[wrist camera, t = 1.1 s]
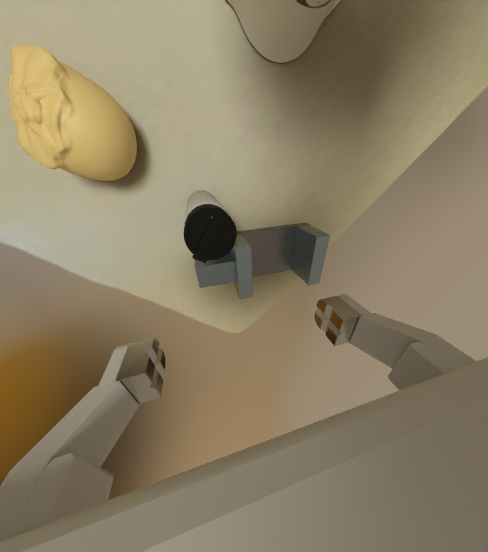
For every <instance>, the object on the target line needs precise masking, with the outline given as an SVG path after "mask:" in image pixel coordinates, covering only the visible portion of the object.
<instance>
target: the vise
mask: <svg viewBox="0 0 488 552" xmlns="http://www.w3.org/2000/svg"><path fill="white" fill-rule="evenodd" d="M240 234H241V235H242V236H243V237H244V238H245V240H246V241H247V242H248V243H249V245H250V246H251V261H252V277H253V276H259V275H264V274H270V273H275V272H281V271H286V270H293V271H294V272H295V273H296V274H297V275H298V276H299V277H300V278H301V279H303V280H304V281H305V282H306V283H307V284H308V285H310V284H316V283H319V281H320V276H321V272H322V268H323V263H324V258H325V254H326V249H327V245H328V240H329V236H330V235H329V234H326V233H324V232H322V231H320V230H318V229H316V228H313V227H311V226H310V225H309V224H307V223H300V224H293V225H285V226H277V227H270V228H262V229H254V230H247V231H239V232H237V235H240Z"/></svg>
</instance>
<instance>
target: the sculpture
mask: <svg viewBox="0 0 488 552" xmlns="http://www.w3.org/2000/svg"><path fill="white" fill-rule="evenodd" d="M11 57H12V73H11V74H10V76H9V89H10V92H9V94H8V97H9V100H10V102H11V114H12V117H13V119H14V121H15V123H16V126H17V137H18V143H19V145H20V147H21V148H22V149H23V151H24V152H25V153H26V154H28V155H30V156H32V157H33V158H34V159H35V160H36V161H37V162H38V163H40V164H41V165H43V166H45V167H47V168H50V169H57V168H61V169H63V170H65V171H68V172H71V173H73V174H77V175H80V176H83V177H86V178H90V179H94V180H101V181H112V180H117V179H120V178H122V177H124V176H125V175H126V174H127V173H128V172H129V171H130V170H131V168H132V167H133V165H134V162H135V159H136V154H137V142H136V136H135V132H134V129H133V126H132V124H131V122H130V120H129V118H128V116H127V114H126V113H125V111H124V110H123V109H122V107H121V106H120V105H119V104H118V102H117V101H116V100H115V99H114V98H113V97H112V96H111V95H110V94H109V93H108V92H106V91H105V90H104V89H103V88H101V87H100V86H99V85H97V84H96V83H95V82H93V81H91V80H90V79H88V78H87V77H85V76H84V75H82V74H81V73H79V72H78V71H76V70H74V69H73V68H71V67H69V66H67V65H65V64H63V63H61V62H58V61H57V60H56V58H55V57H54V56H53V55H52V54H51V53H50V52H48V51H47V50H45V49H43V48H41V47H38V46H34V45H28V46H26V45H24V44H22V43H16V44H15V45H14V46H13V47H12V51H11Z"/></svg>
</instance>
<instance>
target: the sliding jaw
mask: <svg viewBox="0 0 488 552" xmlns="http://www.w3.org/2000/svg"><path fill="white" fill-rule="evenodd" d="M195 268H196V273H197V277H198V281H199V286H200V288H203V287H209V286H214V285H219V284H225V283H230V282H234V285H235V288H236V290H237V293H238V296H239V298H240V299H243V298H247V297H252V296H253V293H252V261H251V246H250V245H249V243H248V242H247V241H246V240H245V238H244V237H243V236H242V235H241V234H240V235H237V238H236V242H235V245H234V247H233V248H232V250H231V251H230V252H229V253H228V254H227V255H226V256H224V257H222V258H220V259H217V260H207V262H206V263H203V262H200V261H198V260H196V259H195Z"/></svg>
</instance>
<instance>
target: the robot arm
mask: <svg viewBox="0 0 488 552" xmlns="http://www.w3.org/2000/svg"><path fill="white" fill-rule="evenodd" d="M227 1H228V2H229V3H230V4H231V6H232V7H233V8H234V10H235V11H236V13H237V15H238V18H239V20H240V23H241V25H242V27H243V30H244V32H245V34H246V36H247V37H248V39H249V41H250V42H251V44H252V45H253V46H254V48H255V49H256V50H257V51H258V52H259V53H260V54H261V55H262V56H264V57H265V58H267V59H269V60H271V61H274V62H279V63H283V62H289V61H291V60H294V59H295V58H297V57H298V56H300V55H301V54H302V53H303V52H304V51H305V50H306V49H307V47H308V46H309V45H310V43H311V42H312V40H313V38H314V37H315V35H316V33H317V31H318V29H319V27H320V26H321V24H322V22H323V21H324V19H325V18H326V16H327V15H329V14H330V13H331V12H332V10H333V9H334V8H335V7H336V6H337V4H338V3H339V1H340V0H227ZM317 307H318V309H317V310H316V312H315V316H314V317H315V321H316V323H317V325H318V326H319V328H320V329H322V330H324V331H326V336H327V338H328V339H329V340H330V341H331V342H332V344H333V345H334V346H336V345H340V344H344V343H348V342H349V343H350V344H352V345H353V346H355V347H357V348H358V349H360V350H362V351H363V352H365V353H367V354H369V355H370V356H372V357H374V358H375V359H377V360H379V361H381V362H382V363H384V364H385V365H387V366H389V367H390V368H392V371H391V372H390V374H389V375H388V377H389V378H388V379H389V380H390V381H391V382H392V383H393V384H394V385H395V386H396V387H397V388H398V389H399V391H397V392H394V393H392V394H389V395H387V396H384V397H382V398H378V399H376V400H373V401H370V402H368V403H365V404H363V405H360V406H357V407H355V408H352V409H349V410H347V411H344V412H342V413H339V414H336V415H334V416H331V417H328V418H325V419H323V420H320V421H318V422H315V423H313V424H310V425H307V426H305V427H302V428H299V429H297V430H294V431H291V432H289V433H286V434H283V435H281V436H278V437H275V438H273V439H270V440H267V441H265V442H262V443H259V444H257V445H254V446H251V447H249V448H246V449H244V450H241V451H238V452H236V453H233V454H231V455H228V456H225V457H222V458H220V459H217V460H214V461H212V462H209V463H207V464H204V465H201V466H199V467H196V468H193V469H191V470H188V471H186V472H183V473H180V474H178V475H175V476H172V477H170V478H167V479H164V480H162V481H159V482H156V483H154V484H151V485H148V486H146V487H143V488H140V489H138V490H135V491H133V492H130V493H127V494H125V495H122V496H120V497H117V498H114V499H111V500H109V501H108V497H109V493H110V489H111V485H112V481H113V475H112V474H111V473H110V472H108V471H106V470H104V469H102V468H100V467H101V465H102V464H103V462H104V460H105V459H106V457H107V456H108V454H109V452H110V451H111V449H112V448H113V446H114V445H115V443H116V441H117V440H118V438H119V437H120V435H121V434H122V432H123V430H124V429H125V427H126V426H127V424H128V422H129V421H130V419H131V418H132V416H133V415H134V413H135V411H136V410H137V408H138V407H139V404H140V403H143V402H146V401H150V400H153V399H156V398H159V397H161V393H162V387H163V379H162V377H161V375H162V374H163V372H164V371H165V364H166V363H165V355H164V352H163V350H162V349H160V348H159V342H158V340H157V339H150V340H146V341H140V342H136V343H131V344H127V345H122V346H118V347H117V348H116V349H115V350H114V352H113V355H112V357H111V359H110V361H109V364H108V366H107V368H106V370H105V373H104V375H103V377H102V379H101V382H100V384H99V386H97V387H94V388H93V389H92V390H91V391H90V392H89V393H88V394H87V395H86V396H85V397H84V398H83V399H82V400H81V401H80V402H79V403H78V404H77V405H76V406H75V407H74V408H73V409H72V410H71V411H70V412H69V413H68V414H67V415H66V416H65V417H64V418H63V419H62V420H61V421H60V422H59V423H58V424H57V425H56V426H55V427H54V428H53V429H52V430H51V431H50V432H49V433H48V434H47V435H46V436H45V437H44V438H43V439H42V440H41V441H40V442H39V443H38V444H37V445H36V446H35V447H34V448H33V449H32V450H31V451H30V452H29V453H27V454H26V455H25V457H23V458H22V459H21V461H19V463H17V465H15V467H14V468H12V469H11V471H10V472H9V474H8V475H7V477H6V479H5V480H4V482H3V484H2V485H1V487H0V552H488V357H487V358H484V359H481V360H479V361H475V360H474V359H472V358H471V357H469V356H468V355H466V354H464V353H463V352H462V351H460V350H459V349H457V348H456V347H454V346H453V345H451V344H450V343H448V342H446V341H445V340H444V339H442V338H441V337H439V336H438V335H436V334H433V333H430V332H427V331H424V330H422V329H419V328H416V327H413V326H410V325H407V324H404V323H402V322H399V321H396V320H393V319H390V318H387V317H384V316H382V315H379V314H376V313H370V312H369V311H367V310H366V309H365V308H364V307H363V306H361V305H360V304H359V303H357V302H356V301H355V300H354V299H352V298H351V297H350V296H348V295H346V294H342V295H338V296H333V297H329V298H326V299H321V300H319V301H318V302H317Z"/></svg>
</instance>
